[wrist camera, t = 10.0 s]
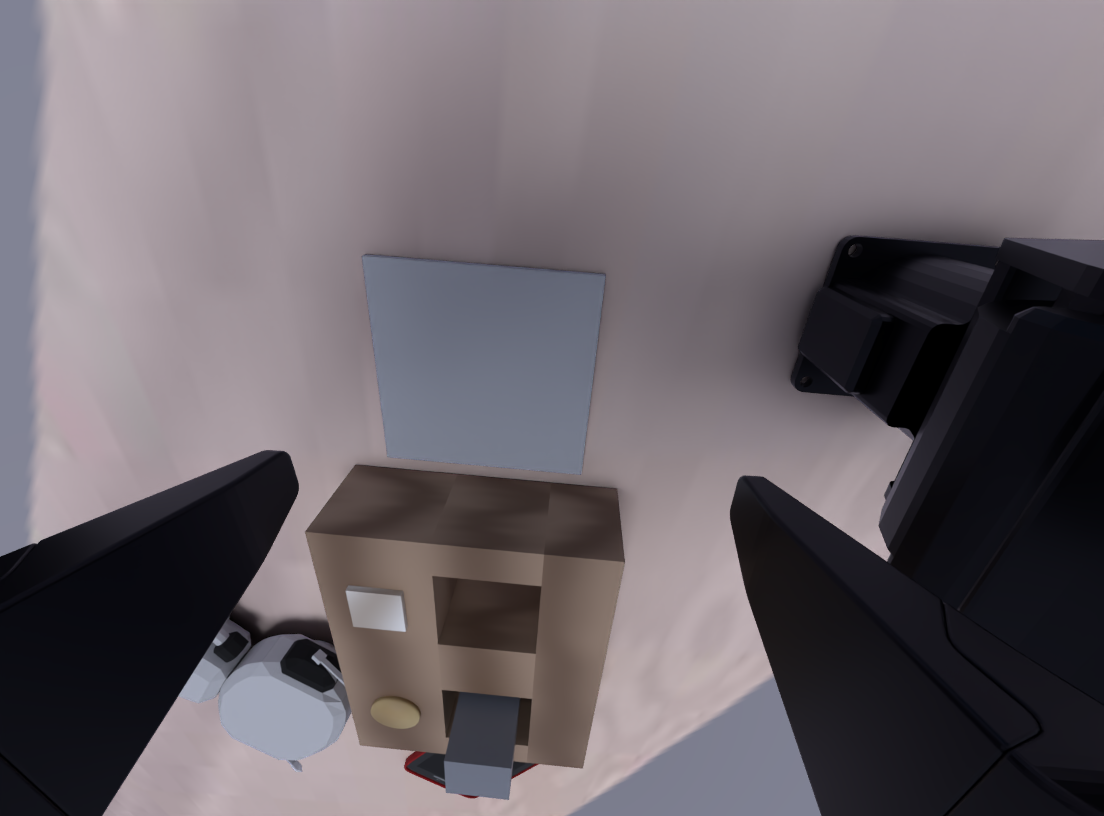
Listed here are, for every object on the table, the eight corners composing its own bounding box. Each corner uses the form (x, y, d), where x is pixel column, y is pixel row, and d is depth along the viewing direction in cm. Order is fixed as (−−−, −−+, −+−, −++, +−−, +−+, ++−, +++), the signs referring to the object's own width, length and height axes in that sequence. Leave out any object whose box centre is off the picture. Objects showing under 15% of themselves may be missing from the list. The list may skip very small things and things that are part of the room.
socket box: (617, 489, 24) (625, 567, 19) (582, 686, 33) (582, 774, 28) (355, 464, 24) (301, 536, 20) (389, 667, 33) (358, 750, 28)
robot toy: (157, 633, 34) (335, 720, 37) (96, 693, 30) (300, 786, 33) (193, 537, 29) (398, 646, 31) (125, 594, 25) (366, 714, 27)
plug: (528, 625, 30) (511, 768, 23) (525, 656, 31) (508, 799, 24) (476, 619, 30) (443, 760, 23) (476, 651, 31) (446, 792, 24)
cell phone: (580, 728, 36) (580, 742, 35) (475, 788, 42) (472, 801, 41) (501, 687, 34) (499, 700, 33) (403, 756, 40) (399, 769, 39)
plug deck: (605, 273, 19) (605, 276, 18) (581, 470, 23) (581, 474, 23) (365, 254, 19) (361, 256, 19) (390, 452, 24) (387, 457, 23)
